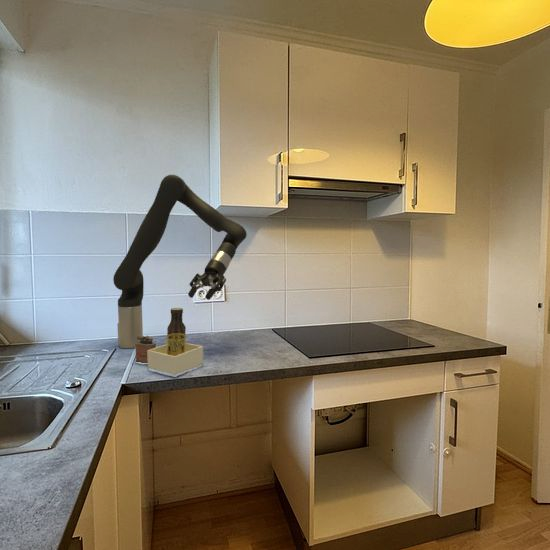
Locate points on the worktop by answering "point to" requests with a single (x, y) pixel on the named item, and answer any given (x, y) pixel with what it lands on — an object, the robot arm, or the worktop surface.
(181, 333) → the sauce bottle
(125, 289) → the robot arm
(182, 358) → the crate
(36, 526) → the worktop surface
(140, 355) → the potted plant
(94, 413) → the worktop surface
